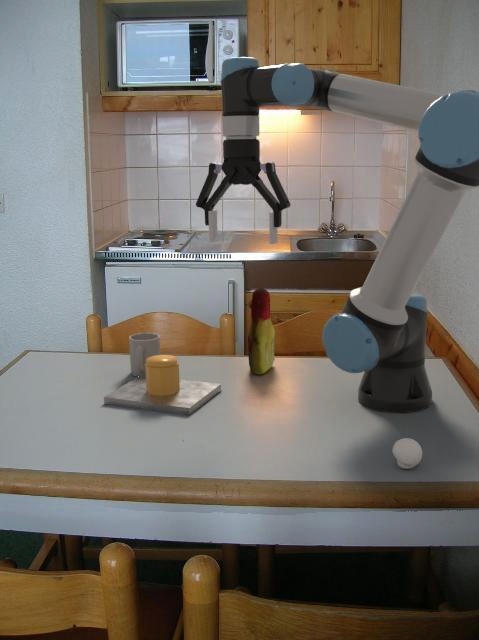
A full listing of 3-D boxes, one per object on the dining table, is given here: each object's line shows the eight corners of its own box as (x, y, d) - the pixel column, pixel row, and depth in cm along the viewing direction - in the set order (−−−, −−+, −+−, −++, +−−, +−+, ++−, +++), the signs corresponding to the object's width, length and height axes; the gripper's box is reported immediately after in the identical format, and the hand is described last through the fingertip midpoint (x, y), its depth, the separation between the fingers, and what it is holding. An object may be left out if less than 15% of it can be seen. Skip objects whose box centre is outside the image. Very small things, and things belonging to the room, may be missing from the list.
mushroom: (393, 459, 126) (394, 432, 125) (422, 462, 125) (423, 435, 124) (390, 471, 122) (391, 443, 121) (420, 475, 120) (422, 446, 119)
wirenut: (183, 387, 161) (182, 356, 160) (169, 396, 155) (168, 364, 154) (156, 384, 164) (155, 353, 162) (142, 393, 158) (140, 361, 156)
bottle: (269, 378, 171) (268, 293, 167) (242, 377, 173) (240, 292, 168) (278, 363, 183) (277, 283, 178) (253, 362, 184) (251, 283, 179)
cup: (164, 368, 180) (163, 333, 178) (154, 381, 171) (152, 344, 169) (135, 367, 181) (133, 332, 179) (123, 380, 172) (121, 343, 170)
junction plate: (221, 390, 163) (220, 366, 162) (189, 414, 149) (188, 388, 148) (141, 381, 171) (140, 358, 170) (104, 403, 156) (102, 378, 155)
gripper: (305, 137, 150) (305, 241, 155) (193, 139, 159) (196, 238, 164) (293, 136, 143) (294, 246, 148) (178, 139, 152) (181, 242, 157)
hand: (243, 242), depth 156 cm, fingers open, 13 cm apart
